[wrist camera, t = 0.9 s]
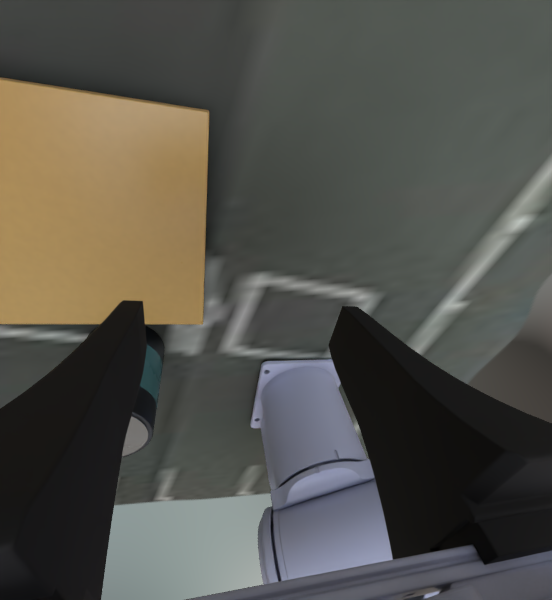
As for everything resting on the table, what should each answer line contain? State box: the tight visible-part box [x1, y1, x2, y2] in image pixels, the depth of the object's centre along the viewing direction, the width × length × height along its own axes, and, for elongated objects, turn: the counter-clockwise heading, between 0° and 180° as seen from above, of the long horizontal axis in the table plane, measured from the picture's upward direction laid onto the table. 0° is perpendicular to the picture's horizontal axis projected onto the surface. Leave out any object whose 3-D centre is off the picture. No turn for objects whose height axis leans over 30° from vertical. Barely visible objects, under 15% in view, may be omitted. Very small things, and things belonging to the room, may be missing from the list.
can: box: [87, 326, 164, 457], centre depth 21 cm, size 5×5×7 cm
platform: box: [0, 77, 209, 324], centre depth 16 cm, size 12×12×2 cm
